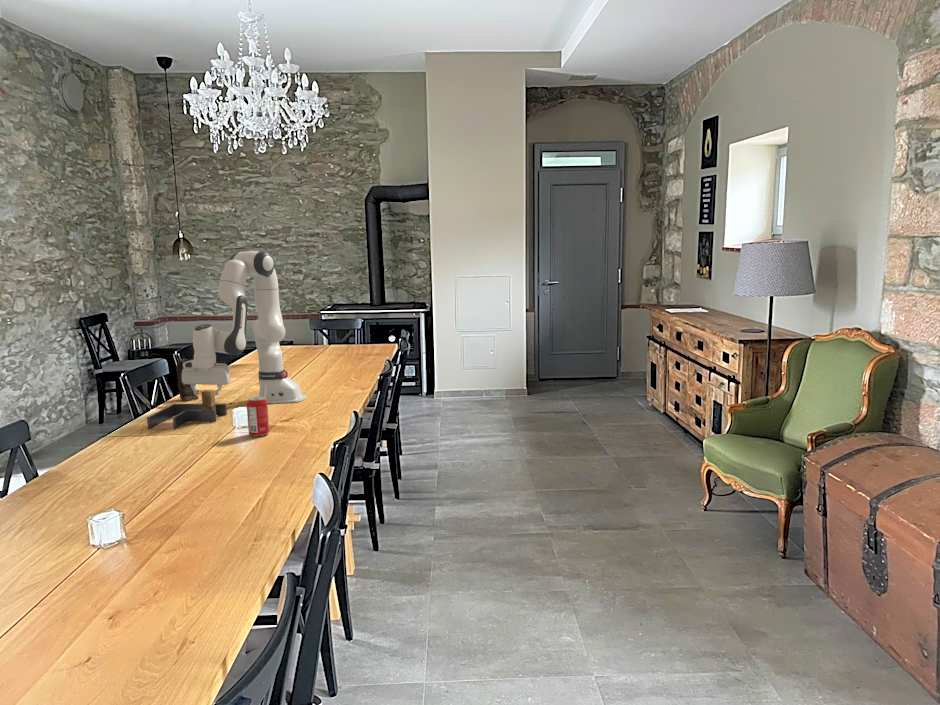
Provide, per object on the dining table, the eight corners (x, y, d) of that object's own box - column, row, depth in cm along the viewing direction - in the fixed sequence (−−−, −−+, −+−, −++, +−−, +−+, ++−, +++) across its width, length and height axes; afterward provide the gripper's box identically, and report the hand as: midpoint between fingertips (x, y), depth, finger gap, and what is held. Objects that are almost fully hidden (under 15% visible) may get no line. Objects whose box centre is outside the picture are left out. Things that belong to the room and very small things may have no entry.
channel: (226, 414, 321) (225, 403, 320) (204, 429, 298) (203, 417, 297) (174, 414, 323) (173, 403, 322) (147, 429, 300) (146, 417, 299)
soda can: (248, 438, 284) (246, 401, 281) (249, 433, 291) (246, 396, 289) (269, 436, 286) (267, 399, 283) (269, 431, 293) (267, 395, 291)
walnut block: (216, 417, 317) (214, 390, 315) (212, 419, 313) (210, 392, 311) (207, 417, 317) (205, 390, 315) (203, 419, 313) (201, 392, 311)
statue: (186, 401, 347) (182, 360, 343) (177, 399, 351) (174, 359, 348) (199, 399, 352) (195, 358, 349) (190, 397, 356) (187, 357, 353)
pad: (181, 423, 308) (181, 422, 308) (172, 428, 300) (172, 427, 300) (163, 423, 309) (163, 422, 309) (153, 428, 301) (153, 427, 301)
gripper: (231, 361, 313) (233, 393, 315) (185, 361, 315) (187, 392, 317) (225, 364, 307) (227, 396, 309) (178, 363, 308) (180, 395, 311)
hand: (206, 394), depth 313 cm, fingers open, 8 cm apart
